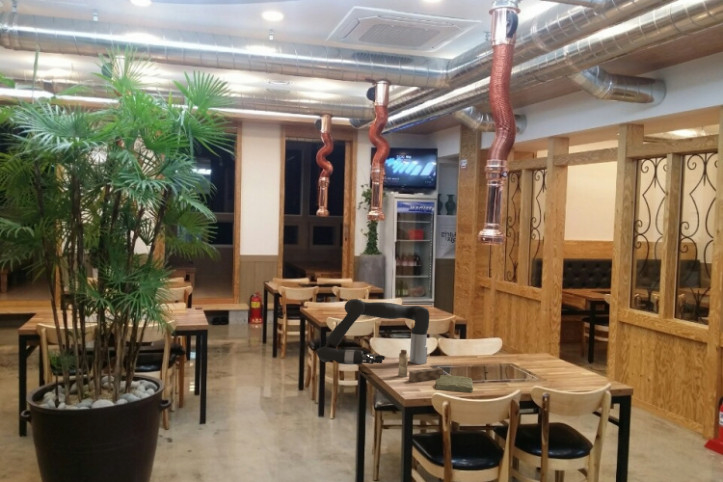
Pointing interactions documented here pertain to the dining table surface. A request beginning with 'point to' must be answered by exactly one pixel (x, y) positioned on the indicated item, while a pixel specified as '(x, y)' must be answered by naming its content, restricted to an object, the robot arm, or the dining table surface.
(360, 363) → the robot arm
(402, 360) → the pepper mill
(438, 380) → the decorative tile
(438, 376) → the rail
